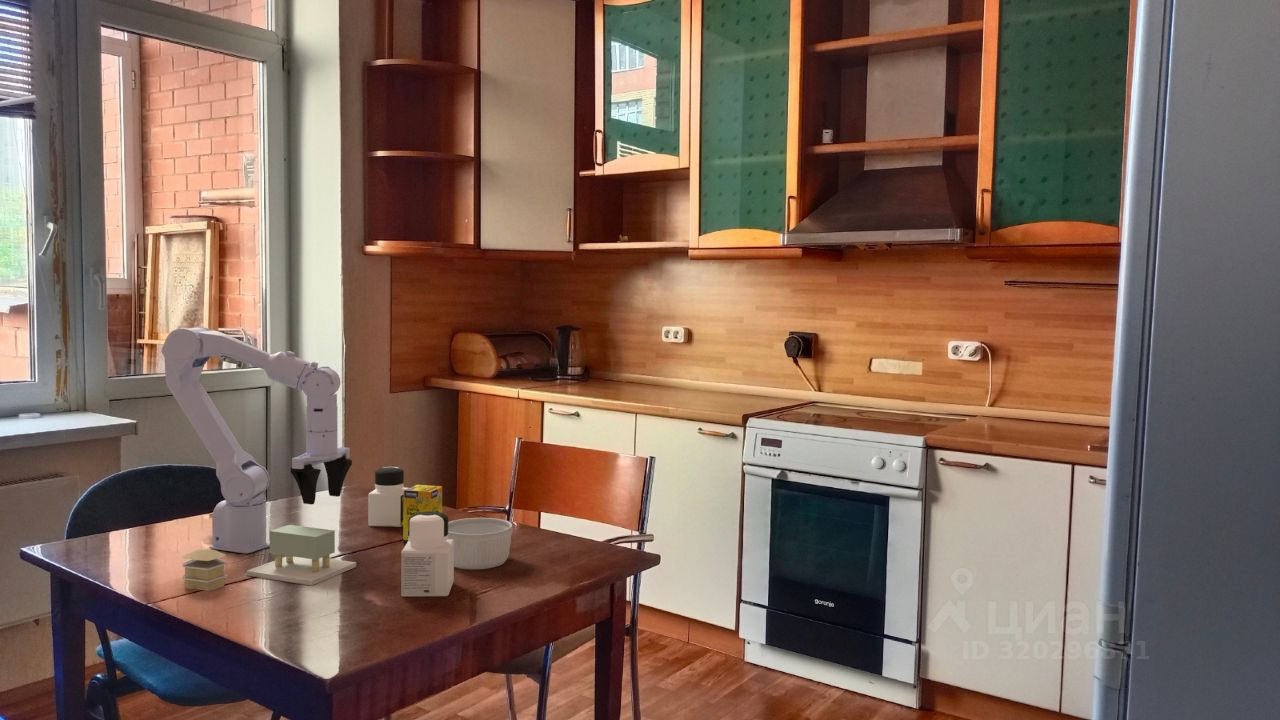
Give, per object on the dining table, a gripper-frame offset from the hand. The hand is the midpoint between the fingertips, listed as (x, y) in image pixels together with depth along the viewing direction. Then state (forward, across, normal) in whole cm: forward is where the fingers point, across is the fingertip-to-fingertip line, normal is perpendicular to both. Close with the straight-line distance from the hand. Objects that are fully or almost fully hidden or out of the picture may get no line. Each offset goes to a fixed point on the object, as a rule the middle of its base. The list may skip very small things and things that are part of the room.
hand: (322, 499), depth 181 cm
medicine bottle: (+10, +22, 0) cm, 24 cm away
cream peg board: (+9, -14, -7) cm, 18 cm away
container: (+10, -14, -33) cm, 37 cm away
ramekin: (+10, +4, -32) cm, 34 cm away
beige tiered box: (+10, -27, +2) cm, 29 cm away
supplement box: (+10, +12, -15) cm, 22 cm away
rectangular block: (+6, -14, -7) cm, 17 cm away
